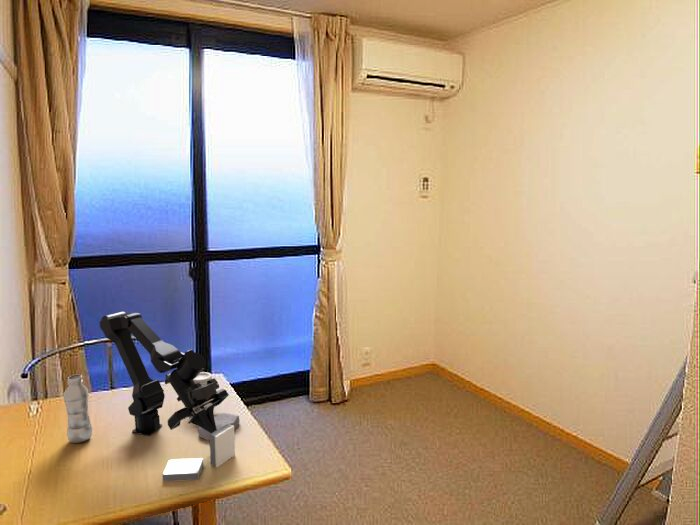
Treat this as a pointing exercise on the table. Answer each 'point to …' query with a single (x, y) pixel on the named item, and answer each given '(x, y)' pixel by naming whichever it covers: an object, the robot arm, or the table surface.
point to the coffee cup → (203, 378)
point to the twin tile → (183, 469)
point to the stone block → (220, 423)
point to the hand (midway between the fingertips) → (215, 433)
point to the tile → (222, 445)
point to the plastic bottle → (77, 410)
